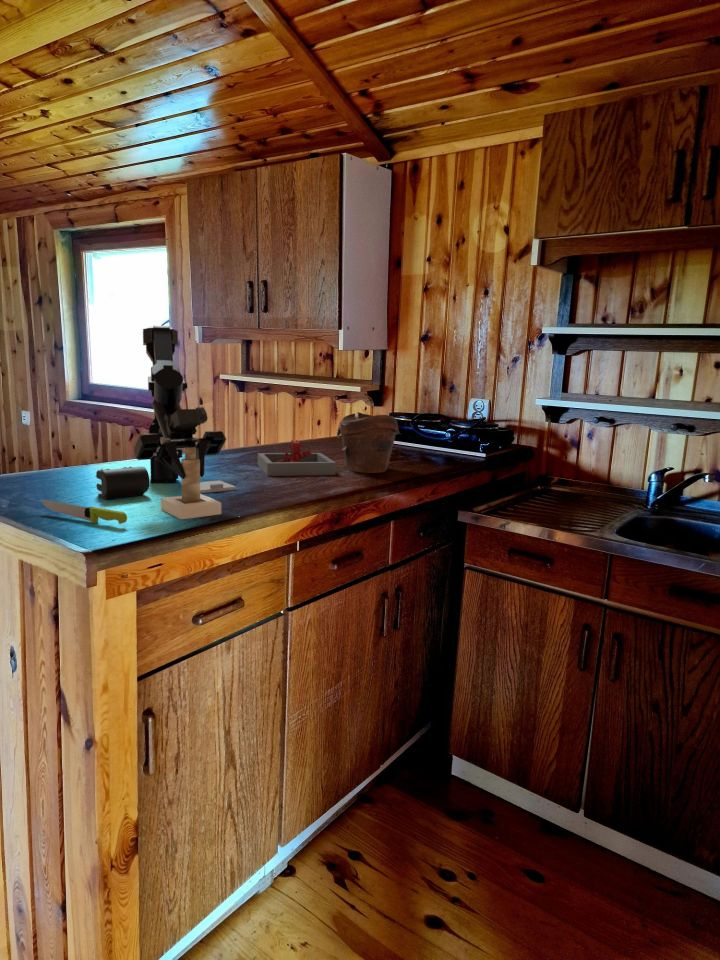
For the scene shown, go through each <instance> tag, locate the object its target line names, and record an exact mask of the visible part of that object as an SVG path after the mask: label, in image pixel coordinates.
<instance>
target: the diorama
mask: <svg viewBox="0 0 720 960" xmlns="http://www.w3.org/2000/svg"><path fill="white" fill-rule="evenodd" d="M290 441H291V444H290V453H291V457H289V458H288V456H287V455H288V453H289V452H288V449H287V448H285V450H284V449H282V451H281V453H285V459H284V460H279V461H277V462H302V461H301V460H300V459H301V458H303V457H306V456H308V455H310V454H312V453H313V452H312V451H311V450H310V449H309V450H306V451H303V452H301V442H299V441H298V439H296V440H295V441H294V440H292V439H291V440H290Z"/></svg>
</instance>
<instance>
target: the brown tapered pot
mask: <svg viewBox="0 0 720 960" xmlns="http://www.w3.org/2000/svg"><path fill="white" fill-rule="evenodd" d="M398 434H400V430H399V427H398V420H397V419H396V418H395V417H394V416H392V415H389V414H375V415H371V414H367V413H361V412H359V411H358V412H356V413H351V414H350V413H349V414H348V415H345V416H344V417H343V418H342V419H341V421H339V424H338V427H337V433H336V437H340V436H341V442H342V449H341V451H342V452H343V455H344V460H345V467H346V469H347V470H348V471H351V472H355V473H363V474H364V473H365V474H375V473H377V474H379V473H383V472H386V471H387V470H388V465H389V463H390V460H391V459H390V458H391V455H392V451H393V447H394V443H395V439H396V435H398Z"/></svg>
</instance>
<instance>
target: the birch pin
mask: <svg viewBox="0 0 720 960" xmlns="http://www.w3.org/2000/svg"><path fill="white" fill-rule="evenodd" d="M180 462H181V464H182V466H183V469H184V472H185V478H184V479H182V478H181V477H180V479H181V480H180V481H181V496H182V503H184V504H188V503H197V502H200V482H201V476H200V459H196V448H195V447H186V448H185V449H184V458H182V459H181V458H180Z"/></svg>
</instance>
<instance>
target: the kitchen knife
mask: <svg viewBox="0 0 720 960" xmlns="http://www.w3.org/2000/svg"><path fill="white" fill-rule="evenodd" d="M39 501H40V502H41V503H42V504H43V505H44V506H45V507H46V508H47V509H48V510H50V511H52V512H54V513H60V514H63V515H67V516H70V517H74V518H77V519H81V520H84V521H88V522H90V523H91V524H97V523H99V518H100V519H102V520H104V521H109V522H110V521H114V520H115V521H117V522H118V525H120V524H125V523H126V522H127V521H128V516H127V513H126V512H124V511H121V510H120V511H118V510H114V509H108V508H102V507H95V506H89V507H88V506H83V505H82V506H81V505H75V504H69V503H65V502H58V501H53V500H52V501H51V500H47V499H46V500H45V499H40V500H39Z"/></svg>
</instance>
